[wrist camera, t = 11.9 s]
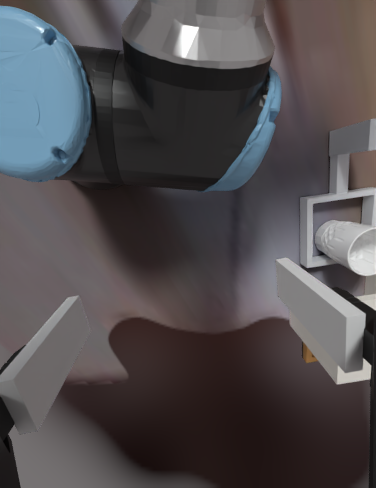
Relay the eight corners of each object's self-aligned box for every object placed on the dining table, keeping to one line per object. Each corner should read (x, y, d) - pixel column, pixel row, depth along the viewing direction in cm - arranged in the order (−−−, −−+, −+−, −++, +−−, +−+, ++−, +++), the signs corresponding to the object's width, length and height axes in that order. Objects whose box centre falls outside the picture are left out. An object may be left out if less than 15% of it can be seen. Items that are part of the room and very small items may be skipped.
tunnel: (288, 265, 47) (340, 304, 32) (373, 251, 47) (462, 285, 33) (289, 324, 51) (337, 384, 36) (368, 312, 51) (446, 366, 37)
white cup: (348, 253, 47) (393, 273, 37) (309, 257, 47) (345, 278, 37) (352, 214, 45) (401, 225, 35) (312, 218, 45) (350, 229, 35)
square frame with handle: (299, 135, 40) (332, 124, 32) (373, 125, 40) (425, 111, 32) (300, 263, 47) (328, 282, 38) (364, 253, 47) (405, 270, 39)
